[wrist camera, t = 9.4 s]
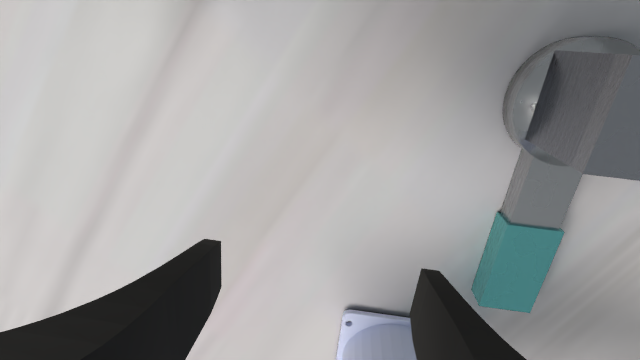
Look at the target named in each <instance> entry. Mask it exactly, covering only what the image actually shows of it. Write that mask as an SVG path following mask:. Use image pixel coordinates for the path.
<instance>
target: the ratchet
mask: <svg viewBox="0 0 640 360" xmlns="http://www.w3.org/2000/svg"><path fill="white" fill-rule="evenodd" d="M555 50H561V51H577V52H594V53H611V54H627V55H639V56H640V50H639V49H638V48H637V47H635V46H634V45H632V44H630V43H628V42H626V41H623V40H620V39H617V38H611V37H575V38H568V39H564V40H561V41H558V42H555V43H552V44H550V45H548V46H546V47H544V48H543V49H541V50H540V51H538V52H536V53H535V54H534V55H533V56H531V57H530V58H529V59H528V60H527V61H526V62H525V63H524V64H523V65H522V66H521V67H520V68H519V70H518V71H517V72H516V74H515V75H514V77H513V78H512V80H511V82H510V84H509V86H508V88H507V91H506V94H505V97H504V102H503V120H504V125H505V128H506V130H507V132H508V134H509V136H510V138H511V139H512V140H513V141H514V143H516V144H517V145H518V146H519V147H520V148H522V150H521V153H520V156H519V159H518V162H517V165H516V168H515V171H514V174H513V177H512V180H511V183H510V185H509V188H508V191H507V194H506V197H505V200H504V203H503V206H502V209H501V212H497V214H496V217H495V220H494V223H493V226H492V229H491V232H490V235H489V238H488V241H487V244H486V247H485V250H484V253H483V256H482V259H481V262H480V265H479V268H478V271H477V274H476V277H475V280H474V283H473V286H472V289H471V290H472V292H473V294H474V296H475V298H476V300H477V302H478V305H479V306H484V307H491V308H498V309H505V310H512V311H520V312H527V313H530V311H531V309H532V307H533V304H534V302H535V300H536V297H537V295H538V293H539V290H540V288H541V286H542V283H543V281H544V279H545V276H546V274H547V272H548V269H549V267H550V265H551V262H552V260H553V258H554V255H555V253H556V251H557V248H558V246H559V244H560V242H561V239H562V237H563V235H564V231H563V230H562V229H561V228H560V226H561V224H562V222H563V219H564V217H565V215H566V212H567V210H568V207H569V205H570V203H571V200H572V198H573V196H574V193H575V191H576V188H577V186H578V184H579V181H580V179H581V177H582V173H581V172H579V171H577V170H576V169H574V168H572V167H571V166H569V165H567V164H565V163H564V162H562V161H560V160H559V159H557V158H555V157H554V156H552V155H550V154H549V153H547V152H545V151H543V150H542V149H540V148H538V147H537V146H535V145H533V144H532V143H530V142H528V141H527V140H525V137H526V134H527V131H528V128H529V125H530V122H531V119H532V116H533V113H534V110H535V107H536V104H537V101H538V98H539V95H540V92H541V89H542V86H543V83H544V80H545V77H546V74H547V71H548V68H549V65H550V63H551V60H552V57H553V54H554V51H555Z"/></svg>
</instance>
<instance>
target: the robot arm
mask: <svg viewBox="0 0 640 360" xmlns="http://www.w3.org/2000/svg"><path fill="white" fill-rule="evenodd" d="M220 289H221V241H216V240H208V239H203V240H202V241H200V242H198V243H197V244H195V245H194V246H192V247H190V248H189V249H187V250H186V251H184V252H183V253H181V254H180V255H178V256H176V257H175V258H173V259H172V260H170V261H168V262H167V263H165V264H164V265H162V266H160V267H159V268H157V269H155V270H153V271H152V272H150V273H148V274H146V275H145V276H143V277H141V278H139V279H137V280H136V281H134V282H132V283H130V284H128V285H126V286H124V287H122V288H120V289H118V290H116V291H114V292H112V293H110V294H108V295H105V296H103V297H101V298H99V299H96V300H94V301H92V302H89V303H86V304H84V305H81V306H79V307H76V308H74V309H71V310H69V311H66V312H64V313H61V314H58V315H55V316H52V317H49V318H46V319H43V320H41V321H37V322H34V323H31V324H28V325H25V326H21V327H18V328H15V329H11V330H8V331H4V332H0V360H185V359H186V357H187V355H188V354H189V352H190V350H191V348H192V346H193V345H194V343H195V341H196V339H197V337H198V336H199V334H200V332H201V330H202V328H203V327H204V325H205V323H206V321H207V319H208V317H209V316H210V314H211V312H212V309H213V307H214V304H215V302H216V300H217V297H218V294H219V292H220ZM347 321H351V322H347ZM336 360H526V359H525V358H524V357H523V356H522V355H520V354H519V353H518V352H517V351H516V350H515V349H513V348H512V347H511V346H510V345H509V344H508V343H507V342H506V341H504V340H503V339H502V338H501V337H500V336H499V335H498V334H497V333H496V332H495V331H494V330H493V329H492V328H491V327H490V326H489V325H488V324H487V323H486V322H485V321H484V320H483V319H482V318H481V317H480V316H479V315H478V314H477V313H476V312H475V311H474V310H473V308H472V307H471V306H470V305H469V304H468V303H467V302H466V301H465V300H464V299H463V297H462V296H461V295H460V294H459V293H458V292H457V291H456V289H455V288H454V287H453V286H452V285H451V284H450V283H449V281H448V280H447V279H446V278H445V277H444V276H443V275H442V274H441V273H440V271H436V270H428V269H421V272H420V276H419V280H418V284H417V288H416V292H415V296H414V299H413V303H412V307H411V311H410V318H407V317H400V316H393V315H386V314H379V313H371V312H364V311H357V310H346V311H344V313H343V317H342V323H341V329H340V336H339V342H338V348H337V354H336Z"/></svg>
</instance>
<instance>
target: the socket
mask: <svg viewBox="0 0 640 360" xmlns="http://www.w3.org/2000/svg"><path fill="white" fill-rule="evenodd" d="M525 140H527V141H528V142H530V143H532V144H533V145H535V146H537V147H538V148H540V149H542V150H543V151H545V152H547V153H549V154H550V155H552V156H554V157H555V158H557V159H559V160H560V161H562V162H564V163H565V164H567V165H569V166H571V167H572V168H574V169H576V170H577V171H579V172H581V173H582V174H589V175H597V176H606V177H614V178H622V179H631V180H639V181H640V56H639V55H627V54H611V53H594V52H577V51H561V50H555V51H554V54H553V57H552V60H551V63H550V65H549V68H548V71H547V74H546V77H545V80H544V83H543V86H542V89H541V92H540V95H539V98H538V101H537V104H536V107H535V110H534V113H533V116H532V119H531V122H530V125H529V128H528V131H527V134H526V137H525Z"/></svg>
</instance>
